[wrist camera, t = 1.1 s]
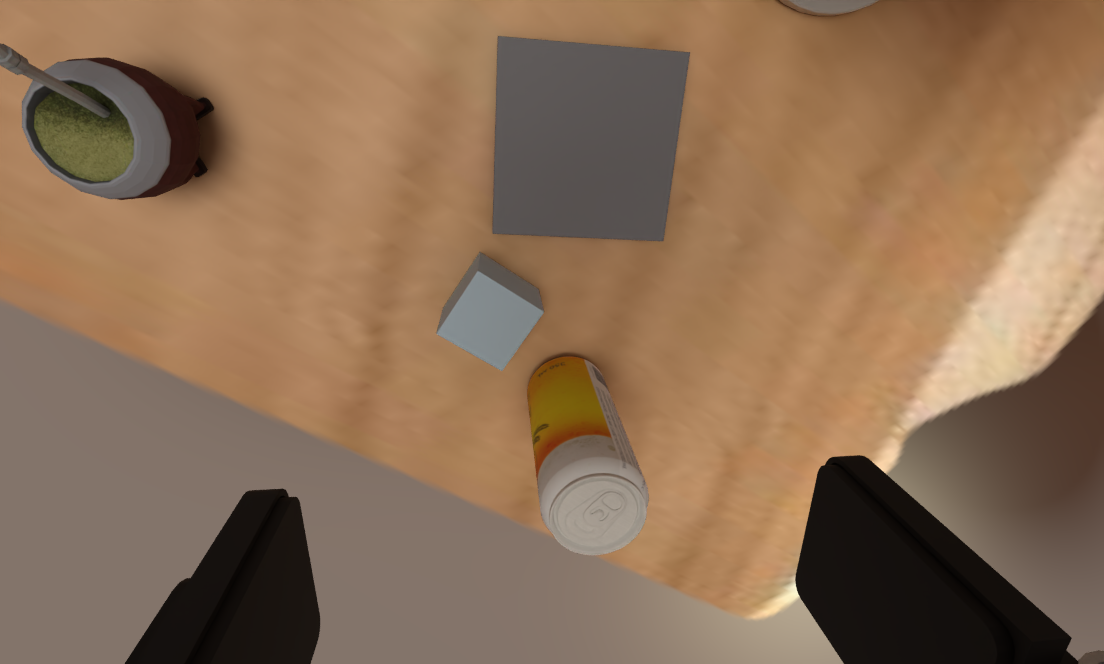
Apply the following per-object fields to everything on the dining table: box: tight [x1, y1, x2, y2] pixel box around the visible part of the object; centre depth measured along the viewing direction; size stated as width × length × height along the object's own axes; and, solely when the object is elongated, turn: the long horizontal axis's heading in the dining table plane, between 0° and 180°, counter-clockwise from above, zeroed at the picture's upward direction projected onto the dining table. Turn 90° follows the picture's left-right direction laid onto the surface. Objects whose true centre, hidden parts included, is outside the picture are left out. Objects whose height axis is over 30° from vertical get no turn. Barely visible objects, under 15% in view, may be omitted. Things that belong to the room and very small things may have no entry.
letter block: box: [436, 252, 544, 371], centre depth 38 cm, size 5×5×5 cm
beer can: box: [527, 356, 649, 555], centre depth 37 cm, size 6×6×15 cm
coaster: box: [493, 36, 690, 241], centre depth 37 cm, size 12×12×1 cm
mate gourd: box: [0, 44, 214, 200], centre depth 27 cm, size 8×8×15 cm
